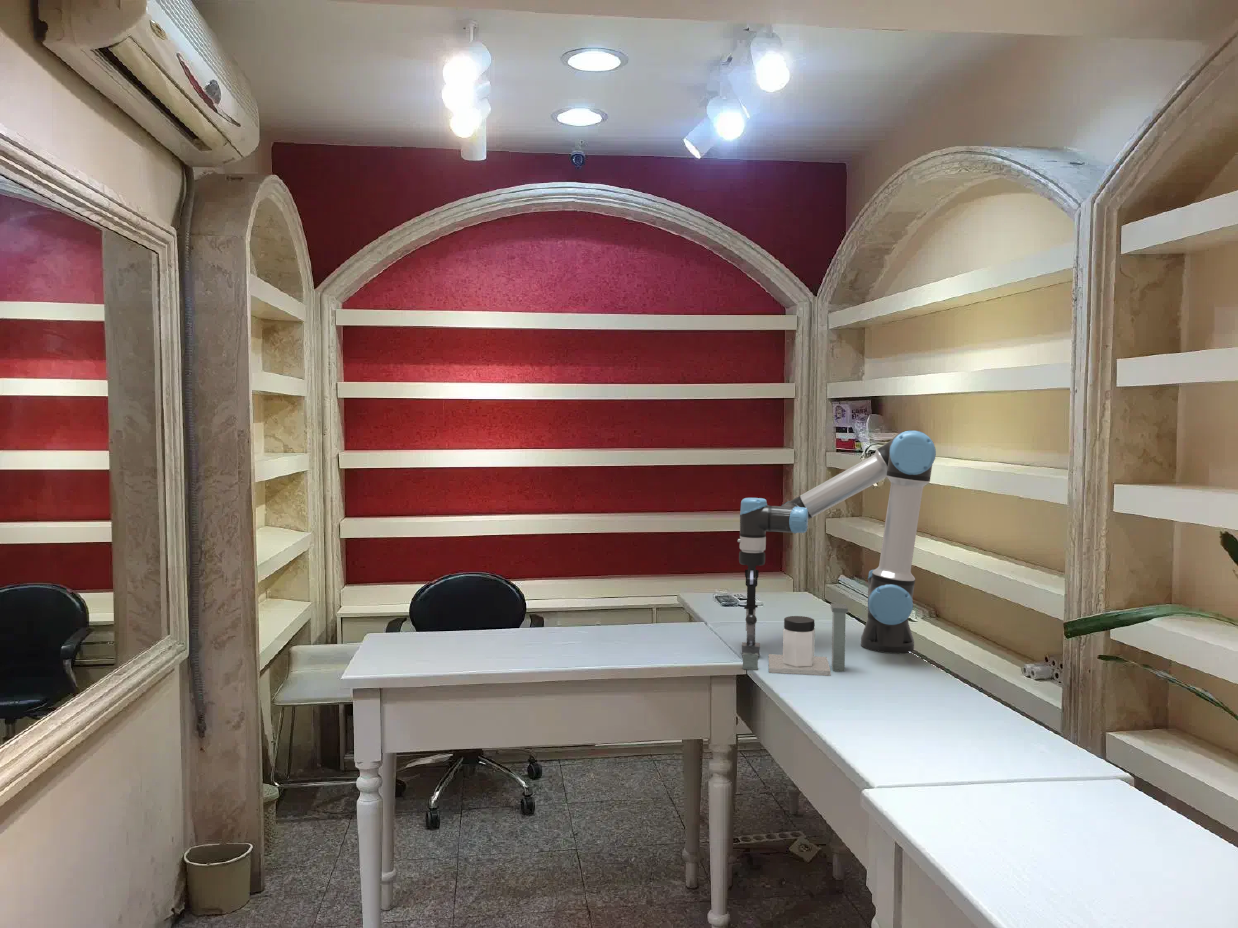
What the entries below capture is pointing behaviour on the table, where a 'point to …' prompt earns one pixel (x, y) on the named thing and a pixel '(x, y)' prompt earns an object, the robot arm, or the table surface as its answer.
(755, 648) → the lever
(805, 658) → the jar
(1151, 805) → the table surface
